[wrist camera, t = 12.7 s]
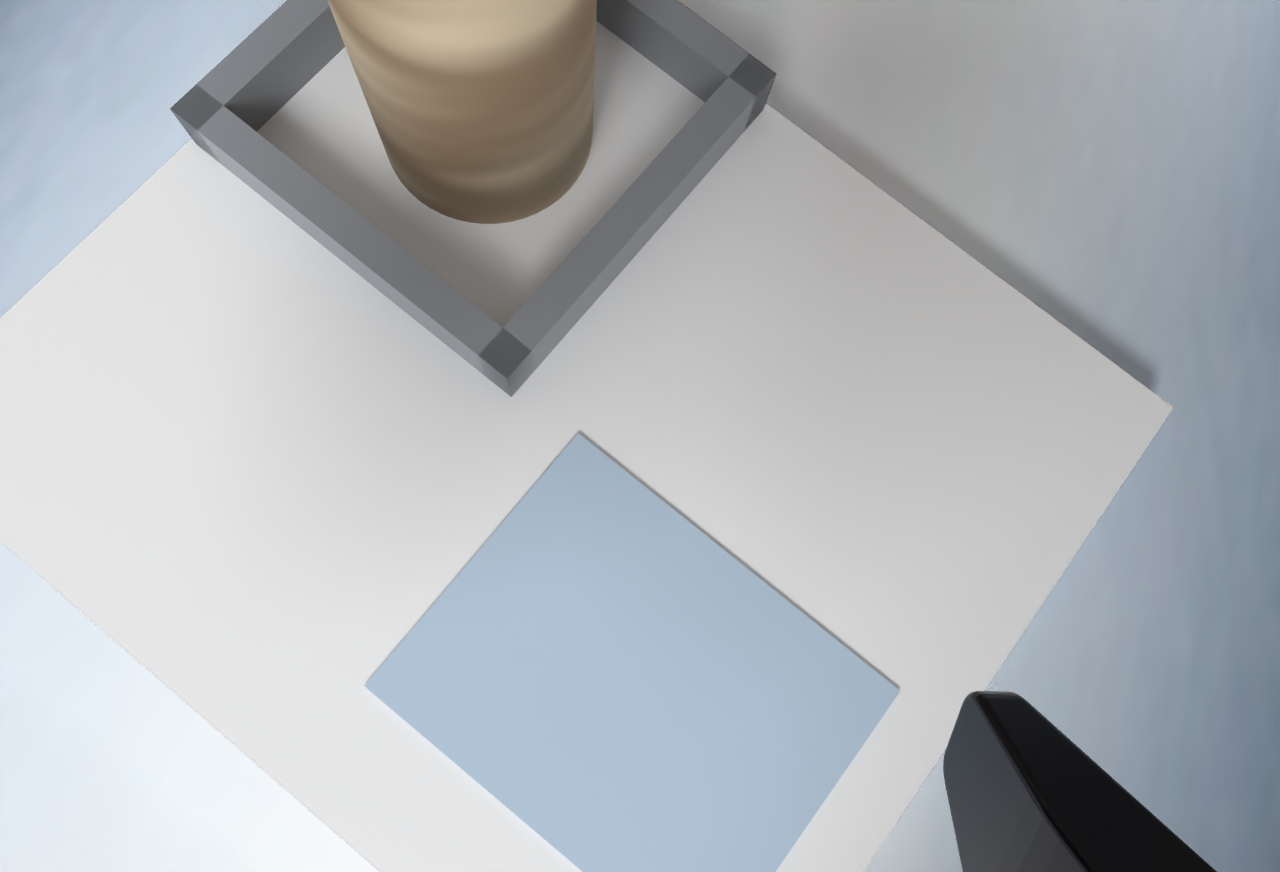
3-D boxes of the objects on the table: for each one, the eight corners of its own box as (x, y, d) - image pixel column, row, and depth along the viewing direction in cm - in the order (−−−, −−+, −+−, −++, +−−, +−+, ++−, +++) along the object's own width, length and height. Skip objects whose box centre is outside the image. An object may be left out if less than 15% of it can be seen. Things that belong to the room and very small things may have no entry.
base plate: (1148, 417, 23) (1215, 390, 21) (679, 1113, 19) (696, 1180, 17) (470, -92, 25) (460, -171, 23) (-91, 444, 21) (-178, 417, 19)
